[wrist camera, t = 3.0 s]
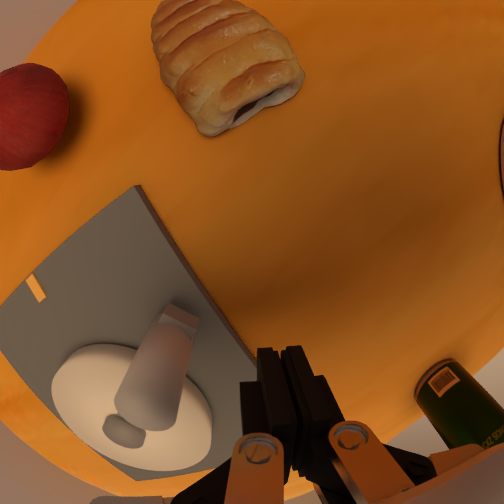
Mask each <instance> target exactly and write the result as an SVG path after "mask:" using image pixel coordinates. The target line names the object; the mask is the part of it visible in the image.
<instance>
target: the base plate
mask: <svg viewBox="0 0 504 504" xmlns="http://www.w3.org/2000/svg"><path fill="white" fill-rule="evenodd" d="M168 302H169V303H170V304H172V305H174V306H176V307H178V308H180V309H182V310H184V311H186V312H188V313H190V314H192V315H194V316H196V317H198V318H199V322H198V326H197V330H196V332H195V335H194V340H193V345H192V349H191V354H190V358H189V362H188V367H187V371H186V377H187V378H188V379H189V380H190V381H191V382H192V383H193V384H194V385H195V386H196V387H197V388H198V389H199V390H200V392H201V393H202V394H203V396H204V397H205V399H206V400H207V402H208V404H209V407H210V409H211V413H212V436H211V446H210V449H209V452H208V454H207V455H206V456H205V457H204V458H203V459H202V460H201V461H200V462H198V463H197V464H195V465H193V466H190V467H188V468H184V469H180V470H174V471H153V470H145V469H140V468H136V467H132V466H129V465H126V464H123V463H120V462H118V461H115V460H113V459H111V458H109V457H107V456H105V455H103V454H101V453H99V452H98V451H96V450H94V449H93V448H92V447H90V446H89V445H88V446H89V447H90V448H92V449H93V450H94V451H95V452H97V453H98V454H99V455H100V456H102V457H103V458H104V459H106V460H107V461H108V462H110V463H111V464H112V465H114V466H115V467H116V468H118V469H119V470H121V471H122V472H124V473H125V474H126V475H128V476H129V477H131V478H132V479H134V480H136V481H142V480H151V479H159V478H166V477H173V476H179V475H184V474H190V473H195V472H199V471H204V470H209V469H213V468H217V467H218V466H220V465H221V464H222V463H224V462H225V461H226V460H228V459H229V458H230V457H232V453H233V448H234V445H235V443H236V442H237V441H238V440H239V438H241V437H242V424H241V409H240V385H239V382H246V381H257V361H256V360H255V358H254V357H253V356H252V354H251V353H250V351H249V350H248V349H247V347H246V346H245V345H244V343H243V342H242V341H241V339H240V338H239V337H238V335H237V334H236V332H235V331H234V330H233V328H232V327H231V325H230V324H229V323H228V321H227V320H226V318H225V317H224V316H223V314H222V313H221V311H220V310H219V308H218V307H217V306H216V304H215V303H214V301H213V300H212V298H211V297H210V295H209V294H208V292H207V291H206V289H205V288H204V287H203V285H202V284H201V282H200V281H199V279H198V278H197V276H196V275H195V273H194V272H193V270H192V269H191V267H190V265H189V264H188V262H187V261H186V259H185V258H184V256H183V255H182V253H181V252H180V250H179V249H178V247H177V245H176V244H175V242H174V241H173V239H172V237H171V236H170V234H169V233H168V231H167V229H166V228H165V226H164V225H163V223H162V221H161V220H160V218H159V217H158V215H157V213H156V212H155V210H154V208H153V207H152V205H151V203H150V202H149V200H148V198H147V197H146V195H145V193H144V191H143V190H142V188H141V186H140V185H137V186H133V187H131V188H130V189H129V190H127V191H126V192H125V193H123V194H122V195H121V196H119V197H118V198H117V199H115V200H114V201H113V202H112V203H110V204H109V205H108V206H106V207H105V208H104V209H103V210H101V211H100V212H99V213H98V214H96V215H95V216H94V217H93V218H91V219H90V220H89V221H88V222H87V223H85V224H84V225H83V226H82V227H81V228H79V229H78V230H77V231H76V232H75V233H74V234H73V235H71V236H70V237H69V238H68V239H67V240H66V241H65V242H64V243H62V244H61V245H60V246H59V247H58V248H57V249H56V250H55V251H54V252H53V253H52V254H50V255H49V256H48V257H47V258H46V259H45V260H44V261H43V262H42V263H41V264H40V265H39V266H38V267H37V268H36V269H35V270H34V271H33V272H32V273H31V274H30V275H29V276H28V277H27V278H26V279H25V280H24V281H23V282H22V283H21V284H20V285H19V287H18V288H17V289H16V290H15V291H14V292H13V293H12V294H11V295H10V296H9V297H8V299H7V300H6V301H5V302H4V303H3V304H2V305H1V307H0V350H1V352H2V353H3V354H4V356H5V357H6V359H7V360H8V361H9V363H10V364H11V365H12V367H13V368H14V369H15V370H16V372H17V373H18V374H19V376H20V377H21V378H22V379H23V380H24V382H25V383H26V384H27V385H28V386H29V388H30V389H31V390H32V391H33V392H34V393H35V395H36V396H37V397H38V398H39V399H40V400H41V401H42V402H43V403H44V404H45V405H46V407H47V408H48V409H49V410H50V411H51V412H52V413H53V414H54V415H55V416H56V417H57V418H58V419H59V420H60V421H61V422H62V423H63V424H64V425H66V423H65V422H64V421H63V419H62V418H61V416H60V414H59V413H58V411H57V409H56V407H55V404H54V401H53V398H52V392H51V386H52V381H53V378H54V376H55V374H56V373H57V372H58V370H59V369H60V368H61V366H62V365H63V364H64V363H65V361H66V360H67V359H68V358H69V356H70V355H71V354H72V353H73V352H75V351H76V350H78V349H80V348H82V347H85V346H89V345H94V344H113V345H119V346H125V347H128V348H132V349H136V350H138V348H139V346H140V345H141V343H142V341H143V339H144V337H145V335H146V333H147V331H148V329H149V327H150V325H151V323H152V322H153V320H154V318H155V317H156V316H157V315H159V314H161V313H163V311H164V309H165V308H166V306H167V304H168ZM66 426H67V425H66ZM67 427H68V426H67ZM68 428H69V427H68ZM69 429H70V428H69ZM70 430H71V429H70ZM71 431H72V430H71ZM72 432H73V431H72ZM74 434H75V433H74ZM75 435H76V434H75ZM76 436H77V435H76ZM83 442H84V441H83ZM84 443H85V442H84Z"/></svg>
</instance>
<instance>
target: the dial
mask: <svg viewBox="0 0 504 504" xmlns="http://www.w3.org/2000/svg"><path fill="white" fill-rule="evenodd" d="M198 322H199V318H198V317H196V316H194V315H192V314H190V313H188V312H186V311H184V310H182V309H180V308H178V307H176V306H174V305H172V304H170V303H169V302H168V304H167V306H166V308H165V309H164V311H163V313H161V314H159V315H157V316H156V317H155V318H154V320H153V322H152V323H151V325H150V327H149V329H148V331H147V333H146V335H145V337H144V339H143V341H142V343H141V345H140V346H139V348H138V350H136V349H132V348H128V347H125V346H119V345H113V344H94V345H89V346H85V347H82V348H80V349H78V350H76V351H75V352H73V353H72V354H71V355H70V356H69V358H68V359H67V360H66V361H65V363H64V364H63V365H62V366H61V368H60V369H59V370H58V372H57V373H56V374H55V376H54V378H53V381H52V386H51V392H52V398H53V401H54V404H55V407H56V409H57V411H58V413H59V414H60V416H61V418H62V419H63V421H64V422H65V423H66V425H67V426H68V427H69V428H70V429H71V430H72V431H73V433H75V434H76V435H77V436H78V437H79V438H80V439H81V440H82V441H84V442H85V443H86V444H87V445H89V446H90V447H92V448H93V449H94V450H96V451H98V452H99V453H101V454H103V455H105V456H107V457H109V458H111V459H113V460H115V461H118V462H120V463H123V464H126V465H129V466H132V467H136V468H140V469H145V470H153V471H174V470H180V469H184V468H188V467H190V466H193V465H195V464H197V463H198V462H200V461H201V460H202V459H203V458H204V457H205V456H206V455H207V454H208V452H209V449H210V446H211V436H212V413H211V409H210V407H209V404H208V402H207V400H206V399H205V397H204V396H203V394H202V393H201V392H200V390H199V389H198V388H197V387H196V386H195V385H194V384H193V383H192V382H191V381H190V380H189V379H188V378H187V377H186V371H187V367H188V362H189V358H190V354H191V349H192V345H193V340H194V335H195V332H196V330H197V326H198Z"/></svg>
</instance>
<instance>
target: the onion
mask: <svg viewBox="0 0 504 504" xmlns="http://www.w3.org/2000/svg"><path fill="white" fill-rule="evenodd" d="M69 109H70V108H69V98H68V91H67V86H66V85H65V83H64V82H63V80H62V79H61V77H60V76H59V75H58V74H57V73H56V72H55V71H53V70H52V69H50V68H47V67H45V66H42V65H38V64H34V63H26V64H21V65H18V66H15V67H12V68H9V69H7V70H4V71H2V72H1V73H0V169H1V170H7V171H12V170H18V169H24V168H28V167H32V166H33V165H34V164H36V163H37V162H38V161H40V160H41V159H42V158H44V157H45V156H46V155H48V154H49V153H50V152H51V150H52V149H53V148H54V146H55V145H56V143H57V142H58V141H59V139H60V137H61V134H62V132H63V130H64V128H65V126H66V122H67V118H68V113H69Z"/></svg>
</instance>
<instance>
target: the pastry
mask: <svg viewBox="0 0 504 504" xmlns="http://www.w3.org/2000/svg"><path fill="white" fill-rule="evenodd" d="M151 28H152V35H151V40H152V42H153V50H154V52H155V54H156V57H157V59H158V61H159V62H160V76H161V80H162V81H163V82H164V83H165V85H167V86H168V87H170V88H171V89H172V91H173V92H174V94H175V95H176V97H177V100H178V102H179V104H180V105H181V106H182V108H183V109H184V110H185V111H186V112H187V113H188V114H189V115H190V116H191V118H192V119H193V120H194V121H195V123H196V126H197V130H198V131H199V132H200V133H201V134H203V135H206V136H217V135H218V134H220V133H222V132H223V131H225V130H226V129H227V128H228V129H231V128H234V127H237V126H239V125H240V124H242V123H244V122H246V121H247V120H248V119H249V118H250V117H252V116H254V115H255V114H256V113H258V112H259V111H260V110H261V109H262V108H264V107H268V106H275V105H278V104H281V103H283V102H284V101H286V100H288V99H290V98H292V97H293V96H294V95H295V94H296V93H297V92H298V90H299V89H300V87H301V86H302V83H303V81H304V78H305V72H304V71H303V70H302V69H301V66H300V65H299V63H298V61H297V57H296V55H295V53H294V51H293V49H292V48H291V46H290V43H289V41H288V39H287V38H286V37H285V36H284V35H283V34H282V33H280V32H279V31H278V30H277V29H276V28H274V26H273V25H272V24H271V23H270V22H269V21H268V20H267V19H266V18H265V17H264V16H262V15H260V14H259V13H257V12H256V11H255V10H254V9H252V8H248V7H246V6H244V5H243V4H242V3H240V2H238V1H234V0H165V1H162V2H161V3H160V4H159V6H158V8H157V11H156V13H155V14H154V15H153V18H152V21H151Z"/></svg>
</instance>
